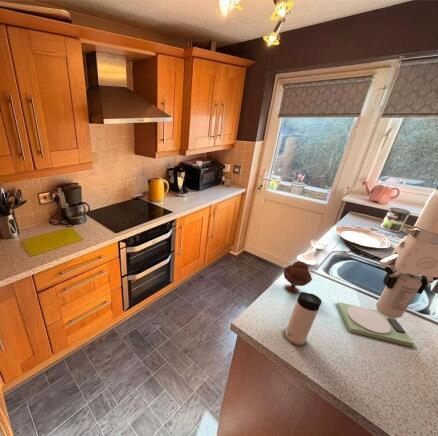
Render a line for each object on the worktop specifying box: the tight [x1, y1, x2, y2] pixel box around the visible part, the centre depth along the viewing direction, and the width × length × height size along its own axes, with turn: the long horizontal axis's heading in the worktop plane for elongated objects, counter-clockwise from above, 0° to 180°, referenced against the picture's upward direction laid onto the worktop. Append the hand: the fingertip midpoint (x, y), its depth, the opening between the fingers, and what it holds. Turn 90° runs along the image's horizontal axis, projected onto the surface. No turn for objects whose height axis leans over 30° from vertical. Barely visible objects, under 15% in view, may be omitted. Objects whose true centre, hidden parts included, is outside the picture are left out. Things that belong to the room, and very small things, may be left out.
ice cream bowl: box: [283, 260, 313, 295], centre depth 103 cm, size 11×11×15 cm
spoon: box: [296, 237, 329, 266], centre depth 132 cm, size 9×32×4 cm, turn 133°
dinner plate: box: [334, 225, 392, 249], centre depth 147 cm, size 28×27×3 cm
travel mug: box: [284, 291, 322, 346], centre depth 79 cm, size 6×7×20 cm
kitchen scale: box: [336, 301, 415, 348], centre depth 88 cm, size 18×14×3 cm
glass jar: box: [380, 207, 411, 233], centre depth 159 cm, size 10×10×14 cm
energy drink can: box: [375, 272, 422, 319], centre depth 70 cm, size 6×6×15 cm
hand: (401, 287), depth 69 cm, fingers closed on energy drink can, 6 cm apart
